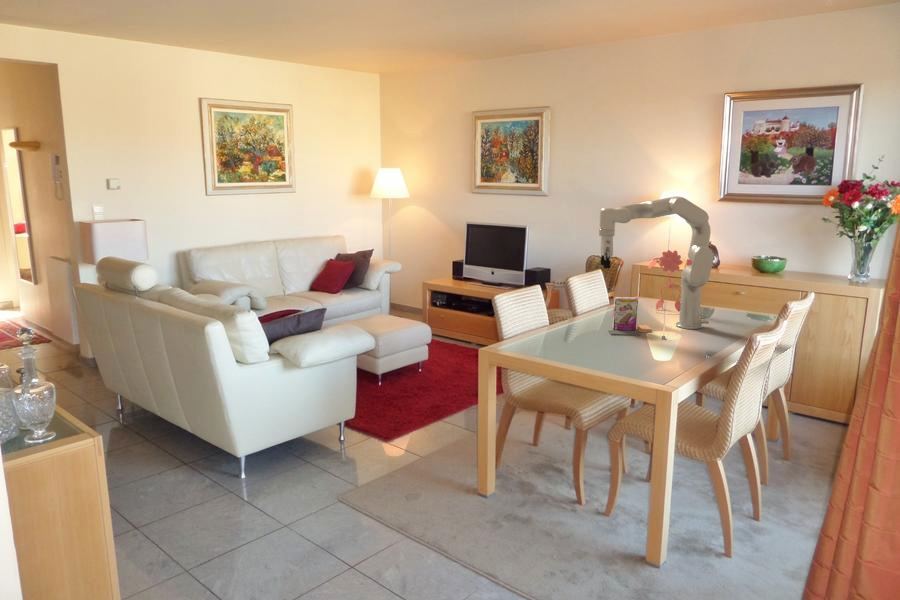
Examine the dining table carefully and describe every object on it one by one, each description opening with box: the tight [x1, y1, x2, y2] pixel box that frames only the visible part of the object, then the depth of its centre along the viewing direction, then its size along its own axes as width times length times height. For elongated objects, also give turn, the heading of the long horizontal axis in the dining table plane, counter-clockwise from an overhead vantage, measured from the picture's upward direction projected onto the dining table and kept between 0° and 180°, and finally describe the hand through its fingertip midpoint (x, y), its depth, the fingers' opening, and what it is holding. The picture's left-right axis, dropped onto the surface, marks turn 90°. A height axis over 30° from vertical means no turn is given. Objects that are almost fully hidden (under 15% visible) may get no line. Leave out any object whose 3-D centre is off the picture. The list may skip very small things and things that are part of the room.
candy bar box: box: [611, 296, 639, 331], centre depth 330 cm, size 11×5×16 cm, turn 84°
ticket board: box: [636, 324, 652, 333], centre depth 330 cm, size 6×8×2 cm
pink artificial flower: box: [647, 249, 693, 316], centre depth 368 cm, size 15×26×35 cm, turn 56°
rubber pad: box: [608, 329, 641, 336], centre depth 324 cm, size 14×7×1 cm, turn 87°
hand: (605, 266), depth 333 cm, fingers open, 9 cm apart
